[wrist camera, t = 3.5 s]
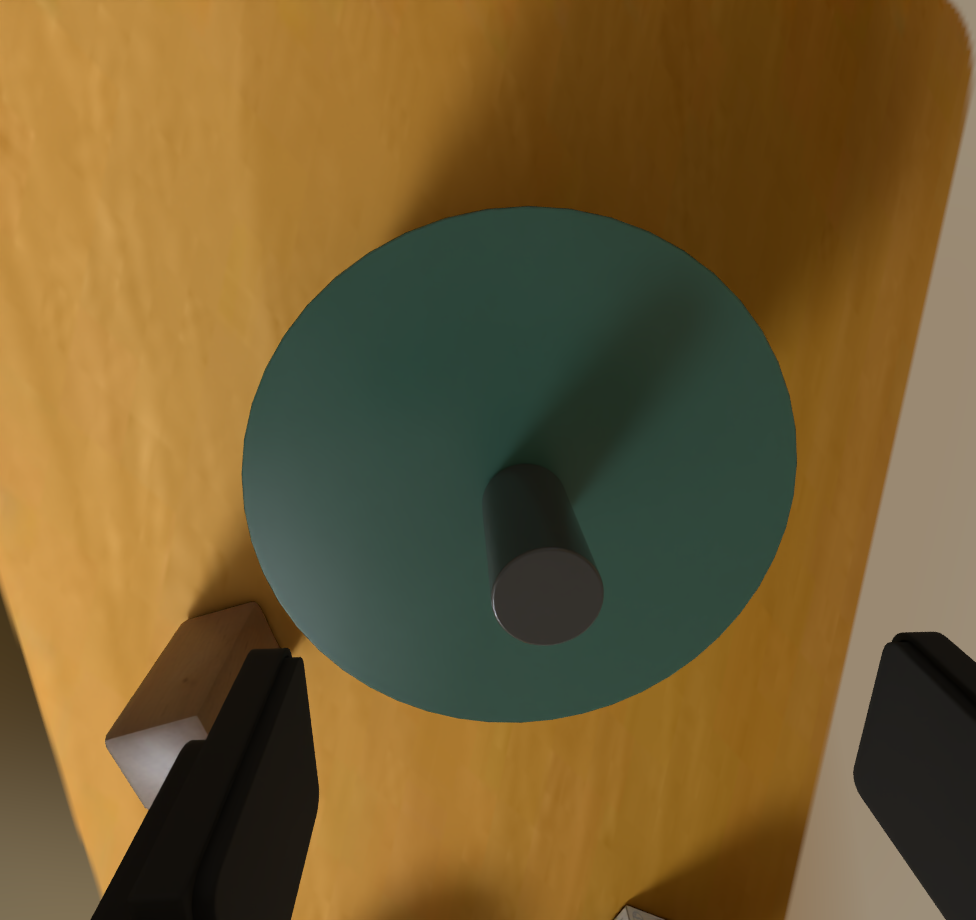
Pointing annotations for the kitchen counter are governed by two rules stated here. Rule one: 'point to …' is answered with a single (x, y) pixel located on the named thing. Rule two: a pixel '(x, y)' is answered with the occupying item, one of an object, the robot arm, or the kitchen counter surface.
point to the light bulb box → (635, 915)
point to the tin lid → (519, 464)
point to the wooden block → (184, 693)
